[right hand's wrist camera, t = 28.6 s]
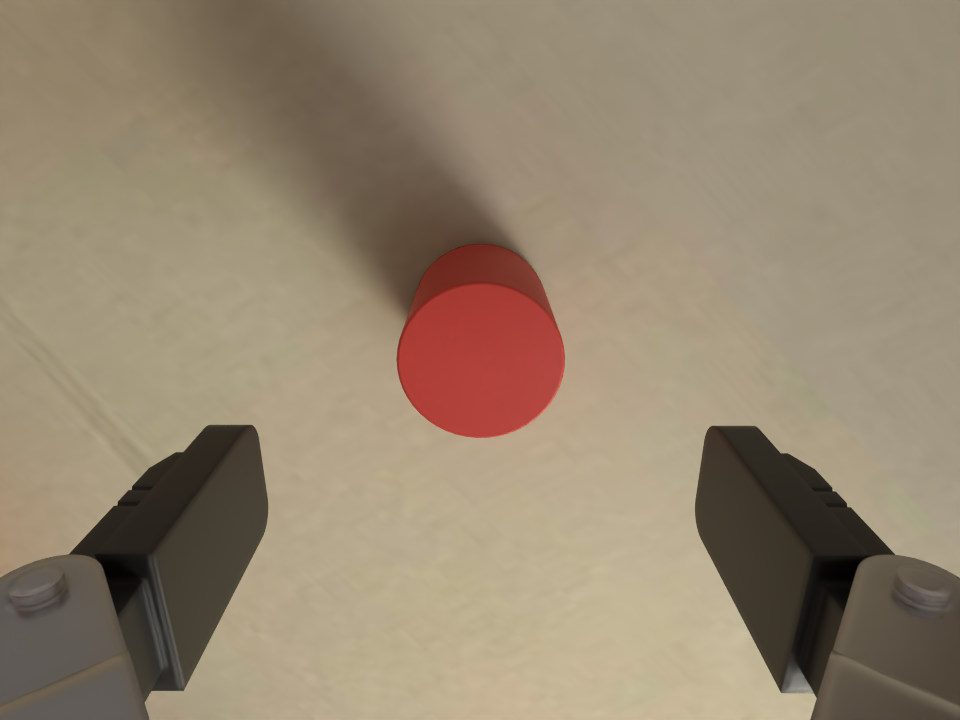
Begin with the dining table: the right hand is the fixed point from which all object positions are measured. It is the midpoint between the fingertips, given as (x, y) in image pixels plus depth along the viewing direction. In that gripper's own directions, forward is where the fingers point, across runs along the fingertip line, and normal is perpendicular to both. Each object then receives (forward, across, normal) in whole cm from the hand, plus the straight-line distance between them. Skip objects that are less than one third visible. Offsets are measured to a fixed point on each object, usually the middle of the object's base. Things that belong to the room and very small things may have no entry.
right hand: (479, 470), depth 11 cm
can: (+10, 0, 0) cm, 10 cm away
